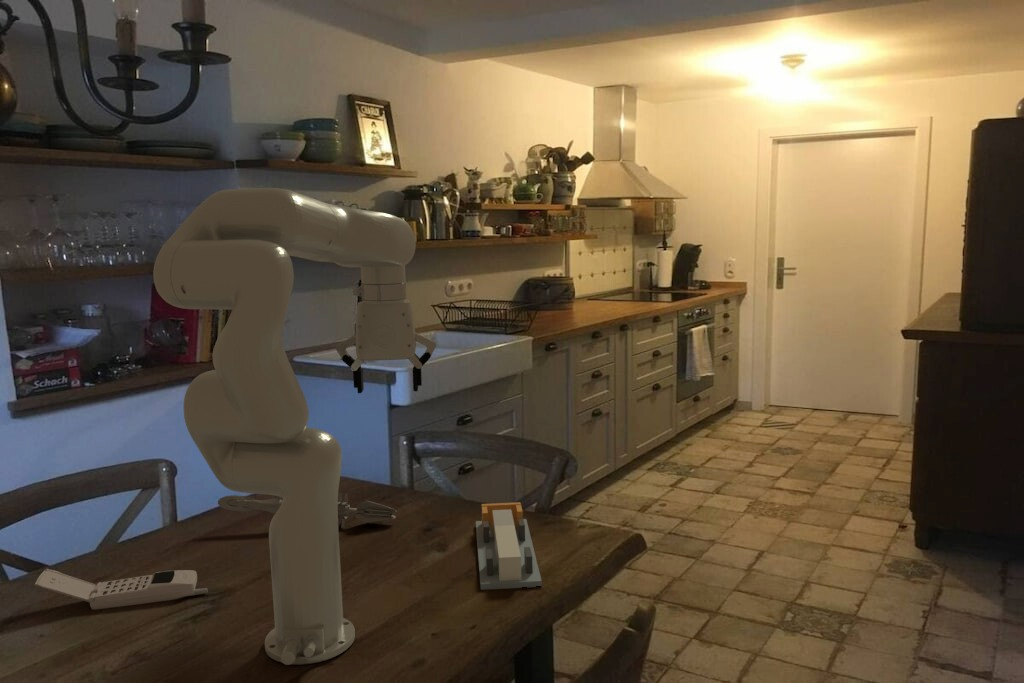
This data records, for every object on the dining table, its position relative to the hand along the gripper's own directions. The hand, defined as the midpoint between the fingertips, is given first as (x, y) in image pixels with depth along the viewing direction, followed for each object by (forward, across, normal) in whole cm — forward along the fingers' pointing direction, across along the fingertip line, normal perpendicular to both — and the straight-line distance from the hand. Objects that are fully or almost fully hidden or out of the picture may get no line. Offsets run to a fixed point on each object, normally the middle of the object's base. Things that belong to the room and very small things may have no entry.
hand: (388, 390), depth 143 cm
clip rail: (+30, +20, -2) cm, 36 cm away
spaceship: (+31, -18, +16) cm, 39 cm away
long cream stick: (+29, +20, -4) cm, 36 cm away
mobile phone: (+31, -42, -13) cm, 54 cm away
